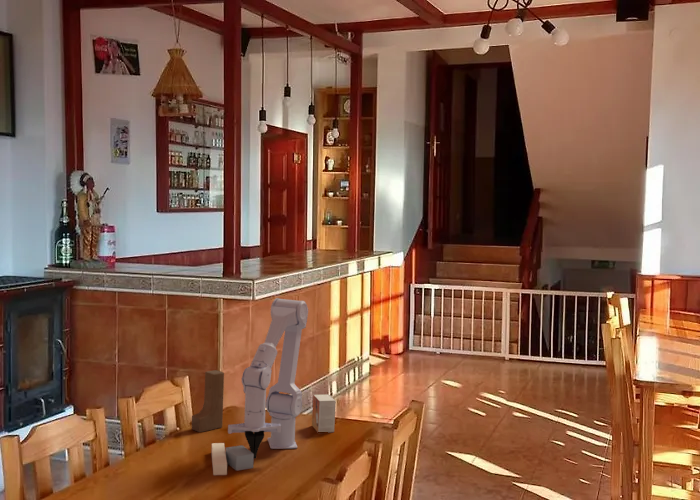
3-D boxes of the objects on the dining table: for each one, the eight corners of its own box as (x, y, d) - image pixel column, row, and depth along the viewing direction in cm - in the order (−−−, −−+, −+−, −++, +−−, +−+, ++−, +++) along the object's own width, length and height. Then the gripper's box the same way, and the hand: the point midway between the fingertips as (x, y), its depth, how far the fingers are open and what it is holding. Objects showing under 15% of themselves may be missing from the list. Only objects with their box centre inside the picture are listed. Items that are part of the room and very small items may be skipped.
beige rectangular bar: (211, 452, 220) (211, 443, 220) (223, 452, 221) (224, 443, 221) (213, 475, 202) (213, 464, 202) (226, 474, 203) (227, 464, 203)
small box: (311, 425, 251) (312, 394, 250) (327, 425, 252) (329, 393, 252) (317, 433, 243) (319, 400, 242) (334, 432, 245) (336, 400, 244)
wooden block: (199, 432, 238) (200, 376, 237) (190, 429, 241) (192, 373, 240) (222, 427, 244) (224, 372, 243) (214, 424, 248) (216, 369, 246)
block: (225, 461, 214) (225, 447, 213) (241, 459, 216) (242, 445, 216) (236, 470, 207) (236, 456, 207) (253, 468, 209) (253, 453, 209)
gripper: (229, 414, 207) (228, 463, 208) (282, 413, 210) (280, 461, 211) (228, 407, 214) (226, 454, 215) (279, 406, 217) (277, 453, 218)
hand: (253, 457), depth 214 cm, fingers closed
